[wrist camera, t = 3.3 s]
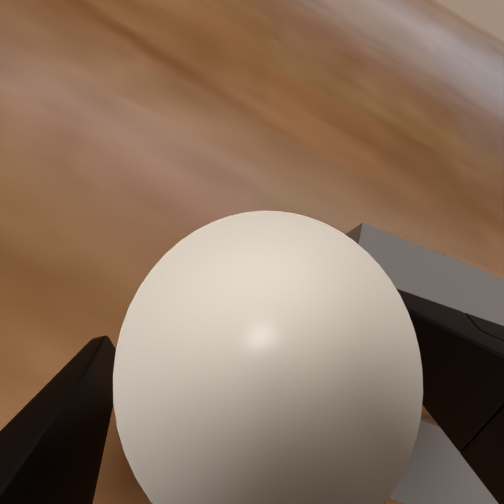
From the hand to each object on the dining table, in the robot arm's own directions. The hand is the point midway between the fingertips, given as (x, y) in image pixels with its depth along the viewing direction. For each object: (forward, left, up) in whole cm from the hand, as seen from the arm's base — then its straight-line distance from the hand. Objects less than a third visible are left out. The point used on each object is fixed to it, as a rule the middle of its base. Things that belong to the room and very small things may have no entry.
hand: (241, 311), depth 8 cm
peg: (-1, 0, -7) cm, 7 cm away
